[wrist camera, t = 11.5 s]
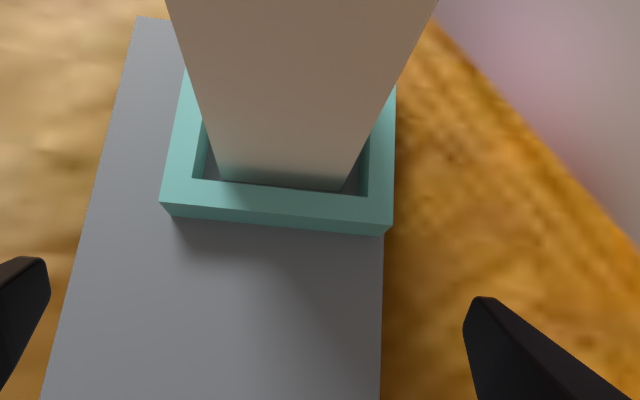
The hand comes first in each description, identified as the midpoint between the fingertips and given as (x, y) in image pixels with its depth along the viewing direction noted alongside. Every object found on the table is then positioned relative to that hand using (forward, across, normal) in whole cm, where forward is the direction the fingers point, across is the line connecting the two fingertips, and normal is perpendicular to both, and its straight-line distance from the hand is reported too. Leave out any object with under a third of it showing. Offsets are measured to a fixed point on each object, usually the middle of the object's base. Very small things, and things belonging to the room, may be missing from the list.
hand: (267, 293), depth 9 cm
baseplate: (+8, +2, +4) cm, 9 cm away
